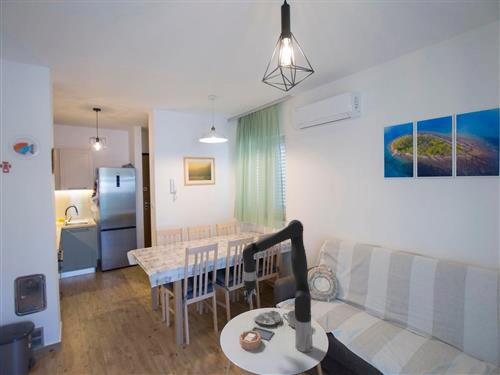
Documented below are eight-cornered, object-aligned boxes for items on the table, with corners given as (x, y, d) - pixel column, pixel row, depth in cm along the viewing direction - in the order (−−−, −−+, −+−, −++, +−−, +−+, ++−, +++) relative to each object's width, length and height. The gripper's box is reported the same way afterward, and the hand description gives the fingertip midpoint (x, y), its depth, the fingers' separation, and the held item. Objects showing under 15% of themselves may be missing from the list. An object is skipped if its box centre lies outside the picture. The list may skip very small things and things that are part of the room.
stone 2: (255, 340, 162) (255, 334, 162) (253, 343, 159) (253, 337, 159) (249, 338, 164) (249, 332, 164) (247, 341, 161) (246, 335, 161)
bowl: (263, 340, 162) (263, 333, 162) (254, 352, 152) (254, 344, 152) (246, 335, 168) (246, 328, 168) (236, 346, 157) (236, 339, 157)
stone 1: (252, 343, 159) (252, 338, 159) (250, 347, 156) (250, 341, 156) (246, 341, 161) (246, 336, 161) (243, 345, 158) (243, 339, 158)
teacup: (305, 324, 180) (305, 312, 180) (300, 332, 171) (299, 320, 171) (287, 318, 188) (287, 307, 187) (280, 326, 178) (280, 314, 178)
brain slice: (265, 332, 172) (265, 327, 172) (250, 320, 186) (250, 316, 186) (287, 322, 183) (287, 318, 183) (271, 312, 197) (271, 308, 197)
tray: (273, 333, 170) (273, 331, 170) (268, 341, 162) (268, 339, 162) (254, 328, 176) (254, 326, 176) (248, 335, 168) (248, 333, 168)
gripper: (249, 283, 152) (250, 310, 153) (260, 275, 165) (261, 300, 165) (238, 281, 156) (239, 308, 156) (250, 273, 168) (250, 298, 169)
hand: (250, 304), depth 161 cm, fingers open, 8 cm apart
